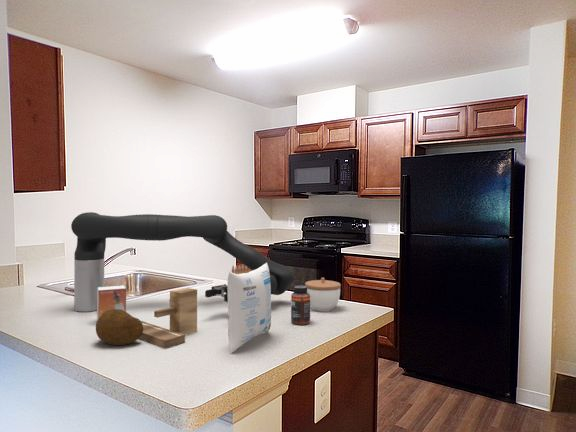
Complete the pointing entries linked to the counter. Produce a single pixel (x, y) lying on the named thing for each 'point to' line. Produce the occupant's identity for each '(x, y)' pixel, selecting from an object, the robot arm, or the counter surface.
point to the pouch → (248, 305)
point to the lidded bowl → (323, 294)
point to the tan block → (181, 311)
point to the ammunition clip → (240, 269)
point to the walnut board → (161, 336)
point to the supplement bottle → (300, 306)
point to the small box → (110, 299)
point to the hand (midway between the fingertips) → (215, 296)
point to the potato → (118, 327)
